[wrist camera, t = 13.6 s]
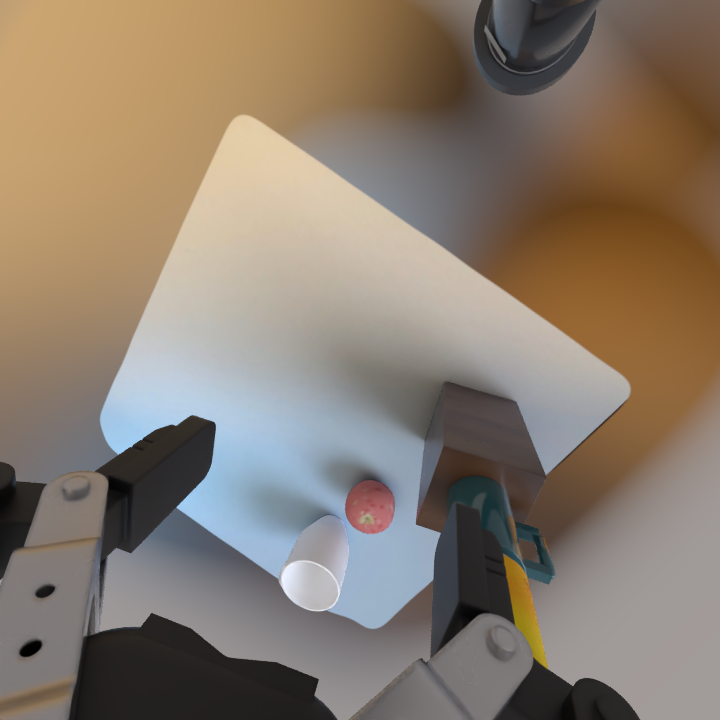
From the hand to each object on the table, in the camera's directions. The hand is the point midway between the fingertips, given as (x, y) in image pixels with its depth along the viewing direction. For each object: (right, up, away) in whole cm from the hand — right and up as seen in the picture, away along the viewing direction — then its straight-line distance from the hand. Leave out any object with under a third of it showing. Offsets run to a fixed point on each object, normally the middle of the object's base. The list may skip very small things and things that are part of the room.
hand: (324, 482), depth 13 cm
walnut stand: (+17, -5, +44) cm, 48 cm away
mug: (-5, -25, +56) cm, 61 cm away
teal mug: (+14, -11, +27) cm, 33 cm away
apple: (+4, -17, +51) cm, 54 cm away
